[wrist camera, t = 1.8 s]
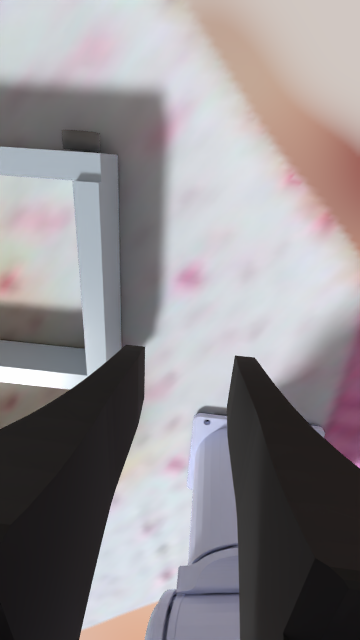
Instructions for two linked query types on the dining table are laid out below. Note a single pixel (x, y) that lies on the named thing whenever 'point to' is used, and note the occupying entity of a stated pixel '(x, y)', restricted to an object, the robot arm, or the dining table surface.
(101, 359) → the grey square frame
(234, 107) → the dining table surface
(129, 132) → the dining table surface
